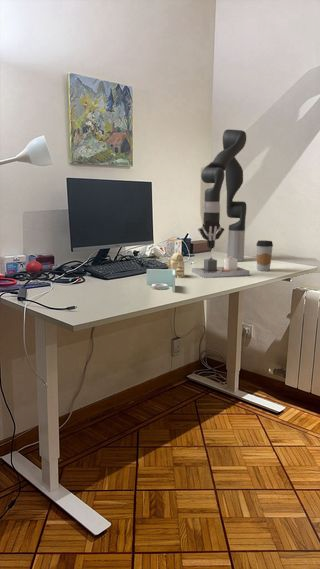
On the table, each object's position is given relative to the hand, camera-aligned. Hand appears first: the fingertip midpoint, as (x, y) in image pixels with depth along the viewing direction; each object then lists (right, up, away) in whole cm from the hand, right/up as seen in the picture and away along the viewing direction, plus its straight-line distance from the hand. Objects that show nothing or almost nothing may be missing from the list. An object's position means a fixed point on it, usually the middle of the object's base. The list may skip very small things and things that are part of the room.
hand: (210, 248), depth 220 cm
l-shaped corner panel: (-24, -20, -29) cm, 43 cm away
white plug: (+10, -12, +6) cm, 17 cm away
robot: (-17, -14, -5) cm, 22 cm away
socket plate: (+5, -12, +4) cm, 14 cm away
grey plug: (0, -12, +3) cm, 13 cm away
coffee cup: (+29, -10, +18) cm, 35 cm away
